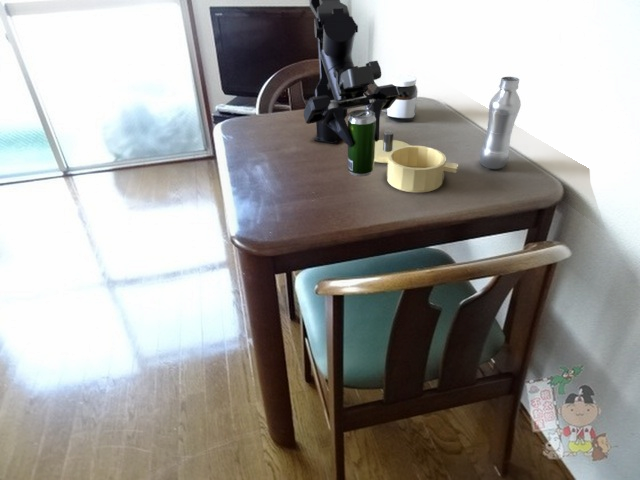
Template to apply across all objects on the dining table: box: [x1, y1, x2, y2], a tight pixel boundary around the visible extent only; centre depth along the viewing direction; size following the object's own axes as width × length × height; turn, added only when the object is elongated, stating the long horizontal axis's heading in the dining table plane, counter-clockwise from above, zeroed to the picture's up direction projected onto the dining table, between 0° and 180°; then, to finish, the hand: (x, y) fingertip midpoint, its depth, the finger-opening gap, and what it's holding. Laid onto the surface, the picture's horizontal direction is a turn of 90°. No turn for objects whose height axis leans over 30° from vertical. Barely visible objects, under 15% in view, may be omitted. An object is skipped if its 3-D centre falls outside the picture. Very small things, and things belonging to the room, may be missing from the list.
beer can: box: [347, 109, 376, 177], centre depth 86 cm, size 5×5×12 cm
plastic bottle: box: [478, 76, 522, 170], centre depth 96 cm, size 6×7×20 cm
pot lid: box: [374, 130, 412, 164], centre depth 108 cm, size 13×13×6 cm
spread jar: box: [381, 74, 419, 123], centre depth 129 cm, size 12×11×12 cm
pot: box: [376, 145, 459, 194], centre depth 97 cm, size 12×18×6 cm
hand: (364, 143), depth 84 cm, fingers closed on beer can, 5 cm apart
